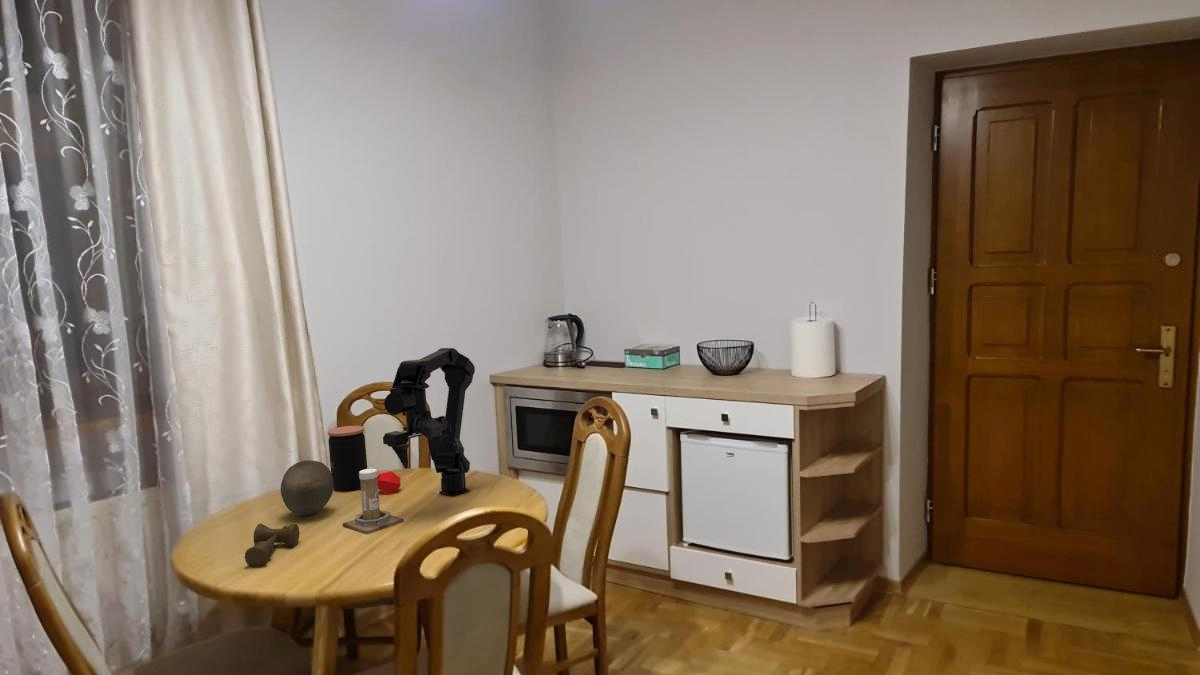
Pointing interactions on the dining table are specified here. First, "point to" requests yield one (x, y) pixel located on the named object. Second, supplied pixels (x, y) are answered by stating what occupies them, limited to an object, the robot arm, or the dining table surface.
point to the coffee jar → (347, 457)
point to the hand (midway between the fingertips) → (420, 464)
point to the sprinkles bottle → (369, 494)
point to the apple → (388, 482)
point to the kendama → (269, 542)
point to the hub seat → (372, 523)
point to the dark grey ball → (307, 487)
